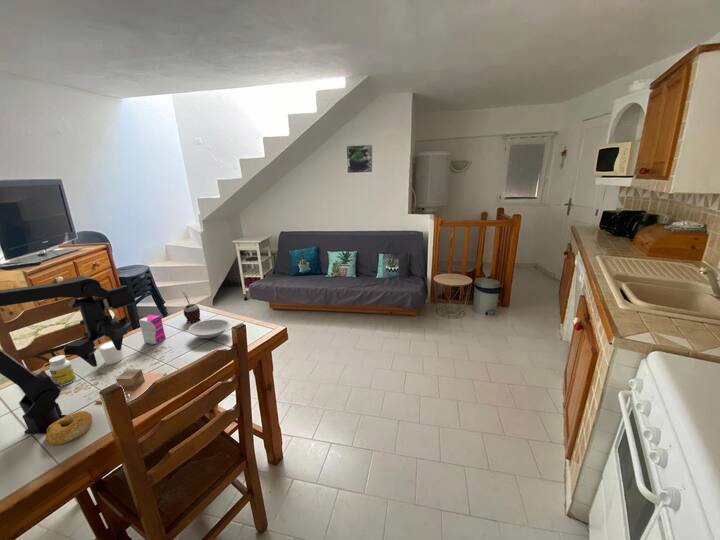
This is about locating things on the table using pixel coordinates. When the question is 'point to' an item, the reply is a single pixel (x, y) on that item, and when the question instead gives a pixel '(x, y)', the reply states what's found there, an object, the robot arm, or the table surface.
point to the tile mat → (148, 379)
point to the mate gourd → (191, 311)
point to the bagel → (68, 428)
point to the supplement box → (152, 329)
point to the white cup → (110, 353)
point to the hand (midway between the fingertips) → (107, 358)
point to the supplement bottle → (61, 370)
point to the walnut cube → (131, 379)
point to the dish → (209, 328)
